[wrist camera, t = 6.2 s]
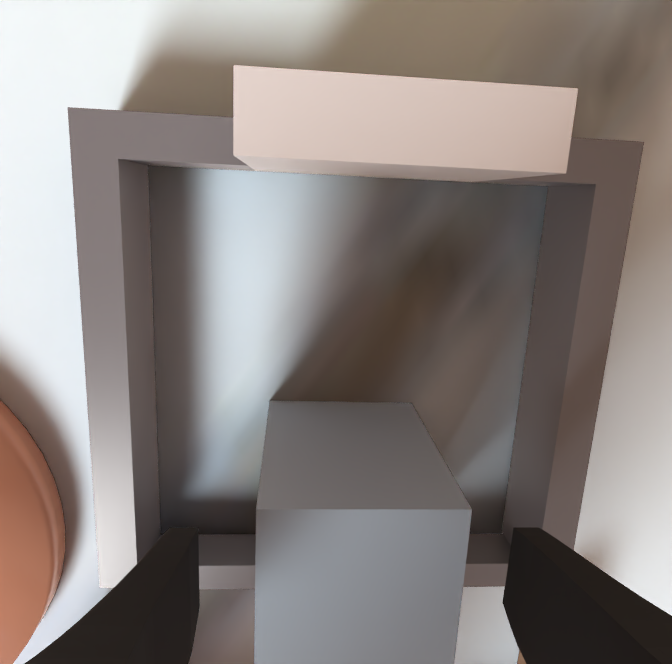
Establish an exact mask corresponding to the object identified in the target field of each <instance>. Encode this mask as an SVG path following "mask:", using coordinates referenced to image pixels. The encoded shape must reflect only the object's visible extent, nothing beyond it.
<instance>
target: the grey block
mask: <svg viewBox="0 0 672 664" xmlns="http://www.w3.org/2000/svg"><path fill="white" fill-rule="evenodd" d="M471 516H472V508H471V507H470V505H469V503H468V501H467V500H466V498H465V496H464V494H463V492H462V491H461V489H460V487H459V485H458V484H457V482H456V480H455V478H454V477H453V475H452V473H451V471H450V470H449V468H448V466H447V464H446V463H445V461H444V459H443V457H442V456H441V454H440V452H439V450H438V449H437V447H436V445H435V443H434V442H433V440H432V438H431V436H430V435H429V433H428V431H427V429H426V428H425V426H424V424H423V422H422V421H421V419H420V417H419V415H418V414H417V412H416V410H415V408H414V407H413V405H412V403H385V402H327V401H270V402H269V410H268V418H267V426H266V434H265V442H264V450H263V458H262V466H261V474H260V482H259V490H258V498H257V506H256V554H255V630H254V664H454V658H455V650H456V642H457V633H458V625H459V616H460V608H461V600H462V591H463V583H464V574H465V566H466V558H467V549H468V541H469V532H470V524H471Z"/></svg>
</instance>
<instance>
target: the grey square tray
mask: <svg viewBox="0 0 672 664" xmlns="http://www.w3.org/2000/svg"><path fill="white" fill-rule="evenodd" d="M577 93H578V88H565V87H550V86H535V85H521V84H506V83H491V82H477V81H462V80H447V79H432V78H418V77H403V76H388V75H374V74H359V73H344V72H329V71H315V70H300V69H285V68H271V67H256V66H241V65H233V117H220V116H203V115H186V114H170V113H153V112H136V111H120V110H103V109H86V108H70V107H68V118H69V133H70V149H71V164H72V179H73V194H74V209H75V224H76V239H77V254H78V269H79V284H80V299H81V314H82V330H83V345H84V360H85V375H86V390H87V405H88V420H89V435H90V450H91V465H92V480H93V496H94V511H95V526H96V541H97V556H98V571H99V586H100V588H114V587H115V586H116V585H117V584H118V583H119V582H120V581H121V580H122V579H123V578H124V577H125V576H126V575H127V574H128V573H129V572H130V571H131V570H132V569H133V567H134V566H135V565H136V564H137V563H138V562H139V561H140V560H141V559H142V558H143V557H144V556H145V554H146V553H147V552H148V551H149V550H150V549H151V548H152V547H153V546H154V544H155V543H156V542H157V541H158V540H159V539H160V538H161V536H162V535H160V532H161V530H160V500H159V471H158V442H157V412H156V383H155V354H154V324H153V295H152V266H151V236H150V207H149V178H148V165H149V166H168V167H188V168H207V169H226V170H245V171H264V172H283V173H303V174H322V175H341V176H360V177H379V178H398V179H418V180H437V181H456V182H475V183H494V184H513V185H533V186H548V192H547V200H546V207H545V214H544V222H543V229H542V236H541V244H540V251H539V259H538V266H537V273H536V281H535V288H534V295H533V303H532V310H531V318H530V325H529V332H528V340H527V347H526V354H525V362H524V369H523V377H522V384H521V391H520V399H519V406H518V414H517V421H516V428H515V436H514V443H513V450H512V458H511V465H510V473H509V480H508V487H507V495H506V502H505V509H504V517H503V524H502V533H503V534H469V541H468V549H467V558H466V566H465V574H464V583H463V587H484V586H505V583H506V576H507V569H508V562H509V555H510V548H511V541H512V534H513V527H539V528H541V529H542V530H544V531H546V532H547V533H549V534H550V535H552V536H553V537H555V538H556V539H558V540H559V541H561V542H562V543H564V544H565V545H566V546H568V547H569V548H571V549H572V550H574V544H575V538H576V532H577V526H578V521H579V515H580V509H581V503H582V497H583V492H584V486H585V480H586V474H587V469H588V463H589V457H590V451H591V445H592V440H593V434H594V428H595V422H596V417H597V411H598V405H599V399H600V393H601V388H602V382H603V376H604V370H605V364H606V359H607V353H608V347H609V341H610V336H611V330H612V324H613V318H614V312H615V307H616V301H617V295H618V289H619V283H620V278H621V272H622V266H623V260H624V255H625V249H626V243H627V237H628V231H629V226H630V220H631V214H632V208H633V203H634V197H635V191H636V185H637V179H638V174H639V168H640V162H641V156H642V150H643V145H644V142H636V141H619V140H602V139H586V138H571V136H572V129H573V122H574V115H575V108H576V101H577ZM198 541H199V590H211V589H255V554H256V534H234V535H198Z"/></svg>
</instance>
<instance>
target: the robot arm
mask: <svg viewBox="0 0 672 664" xmlns="http://www.w3.org/2000/svg"><path fill="white" fill-rule="evenodd" d="M503 605H504V608H505V611H506V614H507V617H508V620H509V623H510V626H511V629H512V631H513V634H514V637H515V640H516V642H517V645H518V647H519V650H520V652H521V654H522V656H523V658H524V660H525V662H526V664H672V616H671V615H669V614H668V613H666V612H664V611H663V610H661V609H660V608H658V607H656V606H655V605H653V604H652V603H650V602H649V601H647V600H645V599H644V598H642V597H641V596H639V595H637V594H636V593H634V592H633V591H631V590H630V589H628V588H627V587H625V586H624V585H622V584H621V583H619V582H618V581H616V580H615V579H613V578H612V577H611V576H609V575H608V574H606V573H605V572H603V571H602V570H600V569H599V568H598V567H596V566H595V565H593V564H592V563H591V562H589V561H588V560H586V559H585V558H583V557H582V556H581V555H579V554H578V553H576V552H575V551H574V550H572V549H571V548H569V547H568V546H566V545H565V544H564V543H562V542H561V541H559V540H558V539H556V538H555V537H553V536H552V535H550V534H549V533H547V532H546V531H544V530H542V529H541V528H539V527H513V534H512V541H511V548H510V555H509V562H508V569H507V576H506V583H505V590H504V597H503ZM199 607H200V603H199V541H198V528H169V529H168V530H167V531H166V532H165V533H164V534H163V535H162V536H161V538H160V539H159V540H158V541H157V542H156V543H155V544H154V546H153V547H152V548H151V549H150V550H149V551H148V552H147V553H146V554H145V556H144V557H143V558H142V559H141V560H140V561H139V562H138V563H137V564H136V565H135V566H134V567H133V569H132V570H131V571H130V572H129V573H128V574H127V575H126V576H125V577H124V578H123V579H122V580H121V581H120V582H119V583H118V584H117V585H116V586H115V587H114V588H113V589H112V590H111V591H110V592H109V593H108V594H107V595H106V596H105V597H104V598H103V599H102V600H101V601H100V602H98V603H97V604H96V605H95V606H94V607H93V608H92V609H91V610H90V611H89V612H88V613H87V614H86V615H85V616H83V617H82V618H81V619H80V620H79V621H78V622H77V623H76V624H74V625H73V626H72V627H71V628H70V629H69V630H68V631H66V632H65V633H64V634H63V635H62V636H60V637H59V638H58V639H57V640H55V641H54V642H53V643H52V644H50V645H49V646H48V647H46V648H45V649H44V650H43V651H41V652H40V653H39V654H37V655H36V656H35V657H33V658H32V659H31V660H29V661H28V662H26V663H25V664H188V663H189V659H190V656H191V652H192V647H193V641H194V636H195V630H196V624H197V618H198V613H199Z"/></svg>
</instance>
